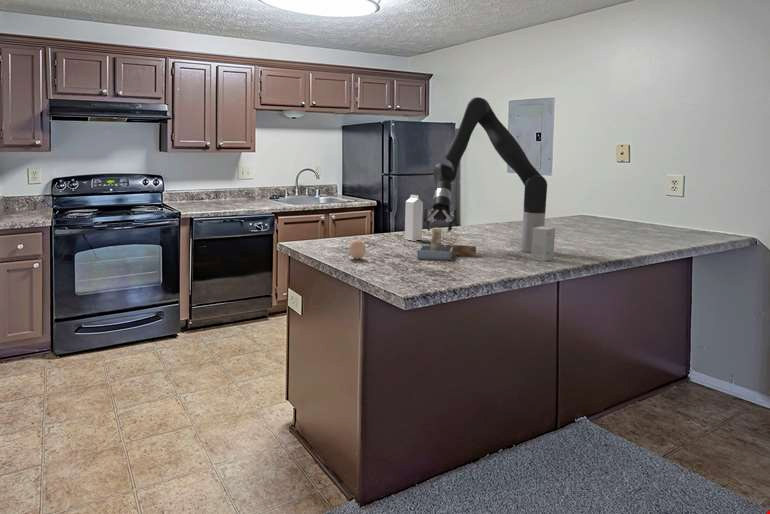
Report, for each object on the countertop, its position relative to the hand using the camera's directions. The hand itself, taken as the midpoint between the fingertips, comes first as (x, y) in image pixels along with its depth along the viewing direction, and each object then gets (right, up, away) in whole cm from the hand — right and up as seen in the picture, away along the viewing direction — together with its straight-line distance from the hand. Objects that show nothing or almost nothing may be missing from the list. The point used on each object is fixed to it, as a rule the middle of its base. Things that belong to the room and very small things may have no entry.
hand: (438, 230), depth 239 cm
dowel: (-2, -10, -6) cm, 12 cm away
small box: (+42, -12, -7) cm, 44 cm away
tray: (-2, -11, -6) cm, 13 cm away
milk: (-9, -3, +36) cm, 37 cm away
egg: (-34, -12, -13) cm, 38 cm away
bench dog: (+9, -11, -1) cm, 14 cm away
